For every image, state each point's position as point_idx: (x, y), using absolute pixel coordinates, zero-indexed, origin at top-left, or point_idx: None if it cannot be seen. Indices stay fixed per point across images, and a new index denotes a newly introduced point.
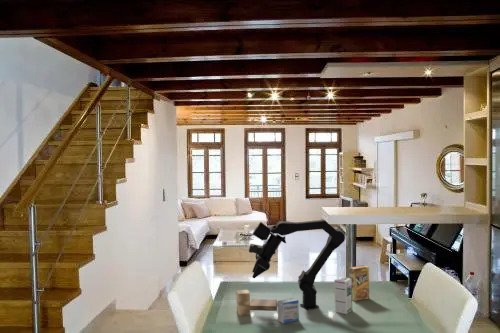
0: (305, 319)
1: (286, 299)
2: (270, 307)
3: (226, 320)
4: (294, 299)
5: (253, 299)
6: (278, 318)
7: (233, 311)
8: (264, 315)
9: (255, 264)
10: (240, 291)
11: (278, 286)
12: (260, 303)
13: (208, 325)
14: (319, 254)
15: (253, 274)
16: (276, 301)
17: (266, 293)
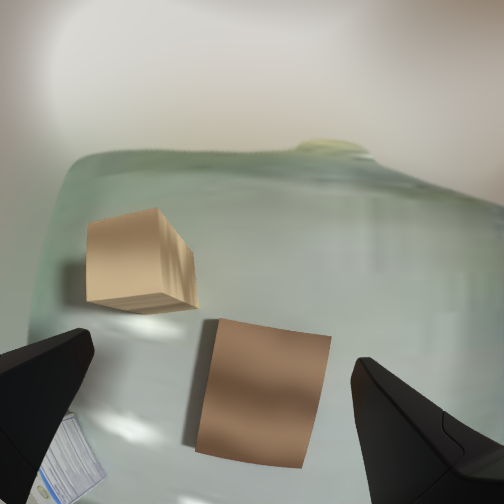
0: (93, 498)
1: (37, 472)
2: (200, 426)
3: (106, 210)
4: (41, 497)
5: (324, 347)
6: (65, 415)
7: (196, 236)
8: (126, 378)
9: (411, 433)
10: (127, 236)
11: (494, 434)
12: (248, 383)
13: (89, 158)
14: None
15: (49, 340)
16: (272, 465)
17: (438, 403)
